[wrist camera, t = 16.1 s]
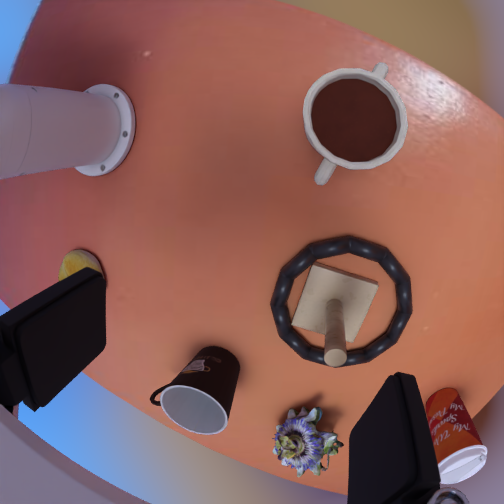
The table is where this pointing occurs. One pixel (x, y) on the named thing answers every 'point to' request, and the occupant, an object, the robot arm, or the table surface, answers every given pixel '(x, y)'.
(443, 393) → the paper cup
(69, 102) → the robot arm
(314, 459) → the passion flower
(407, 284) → the ring
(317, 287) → the post
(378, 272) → the table surface
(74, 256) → the bread roll
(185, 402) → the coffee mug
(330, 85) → the white handled cup
